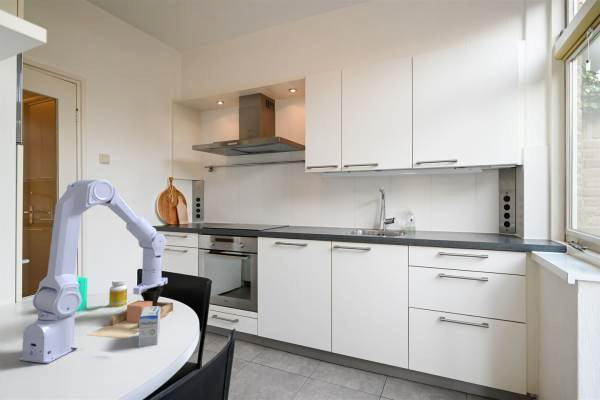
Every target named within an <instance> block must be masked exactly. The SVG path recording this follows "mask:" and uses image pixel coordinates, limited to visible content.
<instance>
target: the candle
mask: <svg viewBox="0 0 600 400" xmlns="http://www.w3.org/2000/svg"><path fill="white" fill-rule="evenodd" d="M75 277H76V279H77V281H78V283H79V293H80V295H81V298H82V301H81V305H80V307H79V308H78V309H77V311H76V312H75V313H78V312H82V311H85V310H86V309H87V307H88V306H87V305H88V277H83V276H78V274H76V276H75Z"/></svg>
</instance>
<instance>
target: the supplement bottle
mask: <svg viewBox="0 0 600 400" xmlns="http://www.w3.org/2000/svg"><path fill="white" fill-rule="evenodd" d="M111 285H112V286H111V287H109V295H108V296H109V297H108V298H109V299H108V306H109V308H120V307H125V306H127V299H128V297H127V296H128V295H127V294H128V287H127V285H126V279H125V278H119V279H113V280H112V281H111Z"/></svg>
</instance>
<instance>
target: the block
mask: <svg viewBox="0 0 600 400" xmlns="http://www.w3.org/2000/svg"><path fill="white" fill-rule="evenodd" d="M151 306H152V301H144V300H139V299H138V300H136V301H133V302H132V303H129V304H126V310H127V321H126V322H133V323H138V319H140V315H141V313H142V310H143V308H144V307H151Z"/></svg>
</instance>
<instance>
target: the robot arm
mask: <svg viewBox="0 0 600 400" xmlns="http://www.w3.org/2000/svg"><path fill="white" fill-rule="evenodd" d="M97 205H100V206H105V207H107V208H108V209H110V210H111V211H112V212H113V213H114V214H116V215H117V216H118V217H119V218H120V219H121V220H122V221H123V222H125V225H126V226H125V228H126V230H127V231H128V232H129V233H130V234H131V235H132V236H133V237H134V238H135V239H136V240H138V245H139V247H140V248H142V270H141V271H142V272H141V274H142V276H141V283H139V284H138V285H136V286H134V287H133V288H132V289H133V295H140V296H141V297H142V300H143V301H152V306H156V305H157V302H159V298H160V296H161V294H162V292H163V290H164V287H162V286H164V285H167V284H168V281H169V280H168V277H162V269H163V266H162V265H163V264H162V263H163V254H164V249H165V248H166V247H167V243H168V241H167V240H166V237H165V235H164V234H163V233H161V232H157V228H156V227H153V226H152V224H151V223H149V222H148V221H149V220H148V218H147V217H146V216H142V215H136V214H135V213H134V211H133V210H132V209H131V208H130V206H129V205H128V204H127V203H126V202H125V201H124V199H123V198H122V196H120V194H119V191H118V189H117V188H116V187H114V186H113V184H112V182H110V181H109V180H108V179H104V178H97V179H77V180H75V181H74V182H72V183H69V184H67V187H66V190H65V192H63V195H61V197H60V198H59V199H58V201H57V202H56V204H55V208H54V209H55V210H54V215H53V216H54V217H53V225H52V234H51V242H50V252H49V257H48V267H47V274H46V276H45V277H44V278H43V279H42V280H41V281H40V282H39V285H38V289H37V291H36V293H34V296H33V298H32V305H33V307H34V309H36V310H37V311H38V312H37V319H36V320H35V321H34V322H32V323H30V324H29V325H27V326H26V327H25V329H24V330H23V334H22V353H21V355H22V356H20V357H19V361H25V362H32V363H33V362H34V363H39V364H40V363H41V364H42V363H43V364H49V363H51V362H53V361H56V360H57V359H60V358H62V357H63V356H65V355H68V354H69V353H71V352H73V351H75V350H77V349H78V347H73V346H74V344H75V320H76V319H75V317H76V313H77V312H76V311H77V309H78V308H79V307H80V305H81V301H82V298H81V295H80V293H79V283H78V281H77V279H76V277H77V276H75V274H76V265H77V256H78V255H77V254H78V246H79V239H80V230H81V222H82V221H81V220H82V215H83V213H84V212H86V211H87V210H89V209H91V208H93V206H94V207H95V206H97Z"/></svg>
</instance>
